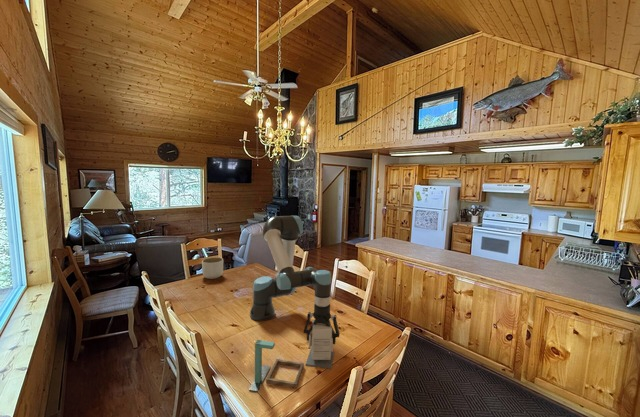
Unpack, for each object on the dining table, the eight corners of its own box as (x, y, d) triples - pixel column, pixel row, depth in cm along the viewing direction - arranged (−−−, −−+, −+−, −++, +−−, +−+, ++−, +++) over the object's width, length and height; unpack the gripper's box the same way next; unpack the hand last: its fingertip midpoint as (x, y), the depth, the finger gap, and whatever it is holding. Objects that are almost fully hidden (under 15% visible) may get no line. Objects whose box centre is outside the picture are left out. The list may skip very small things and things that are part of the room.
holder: (266, 383, 111) (266, 379, 110) (276, 363, 123) (276, 359, 123) (296, 388, 108) (296, 384, 108) (303, 367, 121) (303, 363, 121)
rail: (248, 390, 107) (248, 389, 107) (262, 366, 121) (262, 365, 121) (257, 392, 106) (257, 391, 106) (270, 367, 120) (270, 366, 120)
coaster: (305, 365, 123) (305, 364, 123) (310, 349, 134) (310, 348, 134) (331, 369, 121) (331, 367, 120) (334, 352, 132) (334, 351, 132)
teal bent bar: (254, 382, 110) (255, 343, 108) (257, 378, 113) (257, 339, 111) (271, 385, 109) (272, 345, 107) (274, 381, 111) (274, 342, 110)
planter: (197, 279, 221) (197, 262, 220) (209, 273, 238) (209, 256, 237) (216, 281, 219) (216, 263, 217) (227, 274, 235) (227, 257, 234)
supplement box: (310, 348, 131) (312, 319, 130) (328, 348, 132) (330, 319, 131) (311, 360, 122) (312, 328, 121) (330, 360, 123) (332, 329, 122)
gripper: (297, 304, 123) (296, 349, 125) (345, 310, 119) (343, 356, 121) (301, 297, 130) (300, 340, 133) (346, 302, 126) (345, 346, 129)
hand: (320, 348), depth 127 cm, fingers closed on supplement box, 10 cm apart
